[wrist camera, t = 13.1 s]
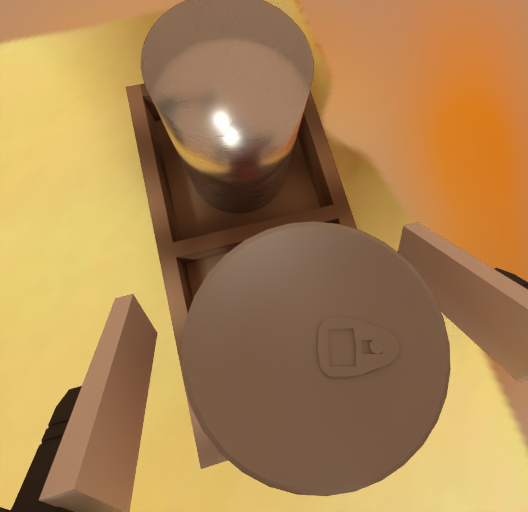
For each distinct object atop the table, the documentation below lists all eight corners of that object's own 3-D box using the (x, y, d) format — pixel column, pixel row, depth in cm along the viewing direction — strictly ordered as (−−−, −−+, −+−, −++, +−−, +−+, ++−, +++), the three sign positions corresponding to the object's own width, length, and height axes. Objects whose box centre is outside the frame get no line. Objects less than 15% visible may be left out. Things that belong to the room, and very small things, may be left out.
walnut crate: (383, 380, 19) (414, 398, 15) (210, 436, 17) (201, 469, 14) (291, 94, 23) (299, 57, 19) (145, 121, 21) (125, 87, 18)
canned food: (346, 357, 18) (497, 442, 7) (236, 392, 17) (216, 552, 6) (313, 254, 19) (398, 192, 8) (209, 283, 18) (152, 255, 7)
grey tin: (169, 176, 19) (103, 72, 11) (228, 108, 21) (212, -33, 12) (249, 232, 19) (248, 171, 10) (303, 159, 20) (344, 50, 12)
